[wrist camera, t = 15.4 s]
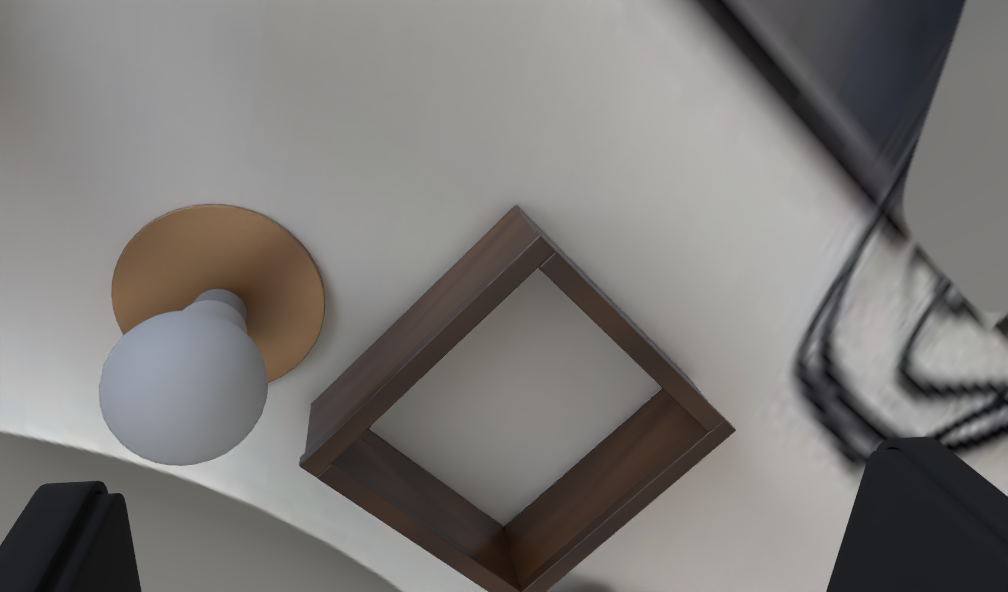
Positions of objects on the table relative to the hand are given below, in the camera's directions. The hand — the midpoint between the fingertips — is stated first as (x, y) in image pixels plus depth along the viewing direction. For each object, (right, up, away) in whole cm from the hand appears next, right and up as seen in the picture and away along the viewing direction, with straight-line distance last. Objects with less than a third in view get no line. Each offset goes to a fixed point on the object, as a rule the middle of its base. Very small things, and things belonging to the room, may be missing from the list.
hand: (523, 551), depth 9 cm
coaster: (-14, +3, +27) cm, 31 cm away
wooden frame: (0, -2, +32) cm, 32 cm away
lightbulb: (-14, +3, +27) cm, 31 cm away
